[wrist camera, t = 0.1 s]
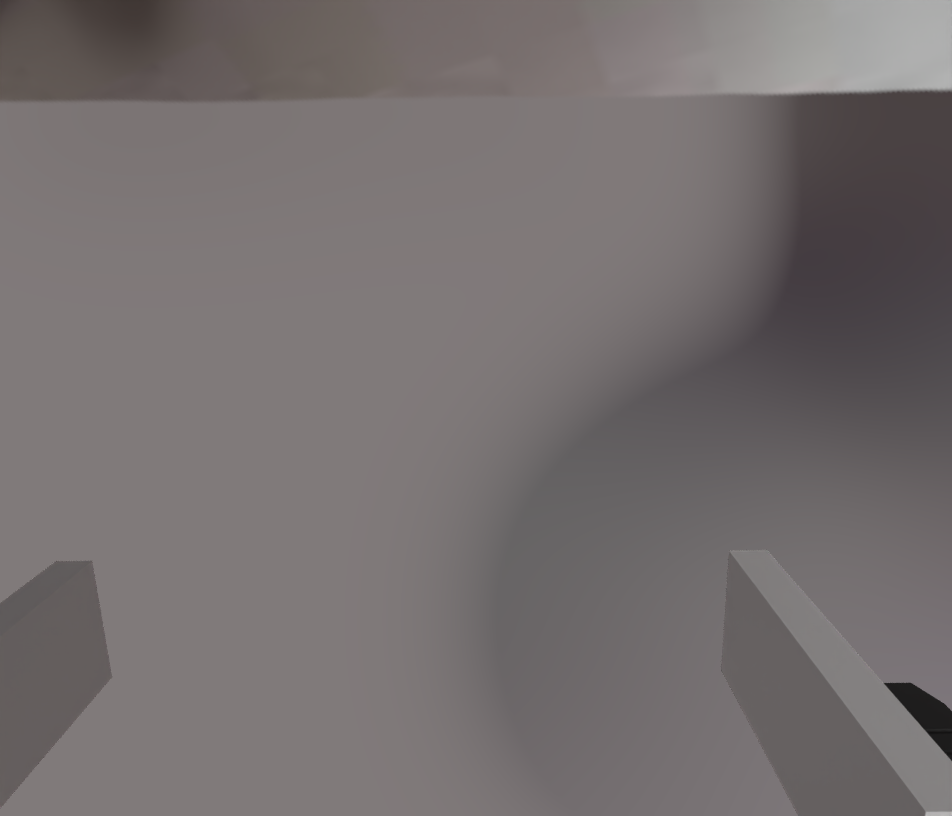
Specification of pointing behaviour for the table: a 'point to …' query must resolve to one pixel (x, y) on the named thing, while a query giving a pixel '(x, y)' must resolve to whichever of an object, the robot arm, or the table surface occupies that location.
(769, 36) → the table surface
